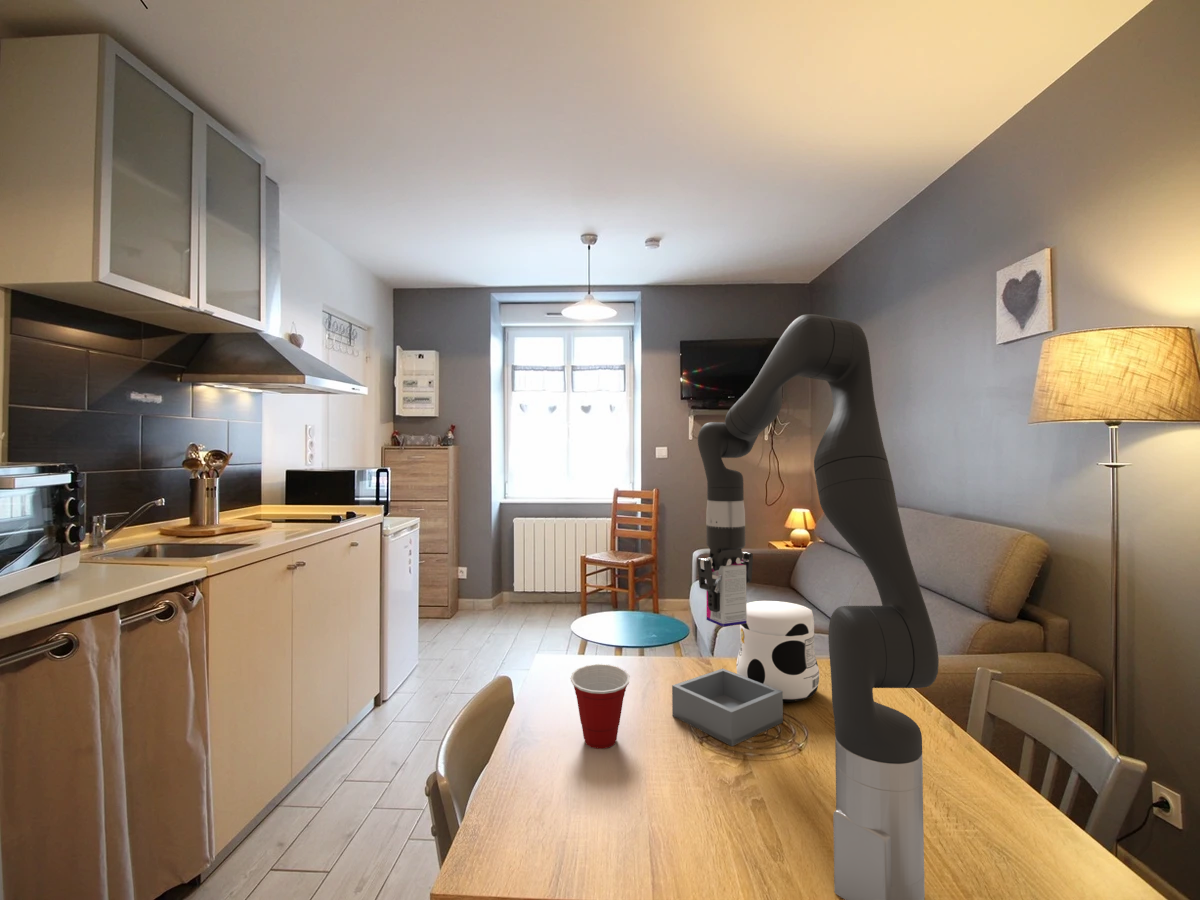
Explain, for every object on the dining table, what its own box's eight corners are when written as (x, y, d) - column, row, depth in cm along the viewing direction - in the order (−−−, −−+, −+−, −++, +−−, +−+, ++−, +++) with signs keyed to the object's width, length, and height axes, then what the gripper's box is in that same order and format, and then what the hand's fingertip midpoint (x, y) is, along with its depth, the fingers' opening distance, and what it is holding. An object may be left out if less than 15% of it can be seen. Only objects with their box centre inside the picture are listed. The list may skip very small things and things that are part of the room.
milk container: (729, 676, 131) (729, 599, 132) (804, 676, 131) (803, 599, 131) (746, 708, 114) (745, 620, 115) (832, 709, 113) (830, 620, 114)
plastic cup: (572, 759, 95) (571, 688, 95) (569, 728, 106) (569, 665, 106) (635, 755, 96) (634, 685, 96) (625, 726, 107) (625, 663, 107)
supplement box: (748, 623, 108) (747, 564, 109) (723, 627, 106) (722, 567, 106) (729, 616, 114) (728, 559, 114) (705, 619, 111) (704, 562, 112)
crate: (731, 746, 99) (731, 712, 99) (672, 715, 111) (672, 685, 111) (782, 722, 108) (782, 691, 108) (722, 696, 120) (722, 668, 120)
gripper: (715, 527, 103) (716, 618, 103) (764, 522, 112) (765, 606, 111) (686, 524, 109) (686, 610, 109) (734, 519, 118) (735, 599, 117)
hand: (726, 607), depth 110 cm, fingers closed on supplement box, 6 cm apart
